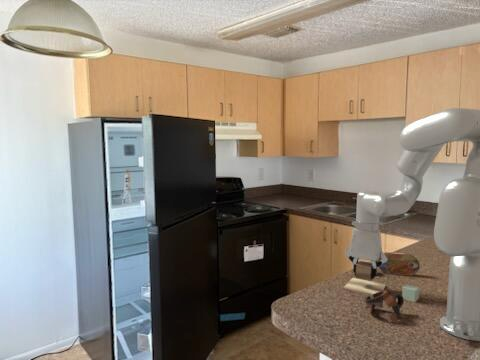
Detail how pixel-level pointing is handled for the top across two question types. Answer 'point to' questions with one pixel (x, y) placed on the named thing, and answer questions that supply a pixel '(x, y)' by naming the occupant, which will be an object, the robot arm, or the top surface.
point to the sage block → (410, 292)
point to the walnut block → (363, 270)
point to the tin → (400, 264)
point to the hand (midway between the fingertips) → (364, 276)
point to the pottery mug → (390, 301)
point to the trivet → (364, 286)
